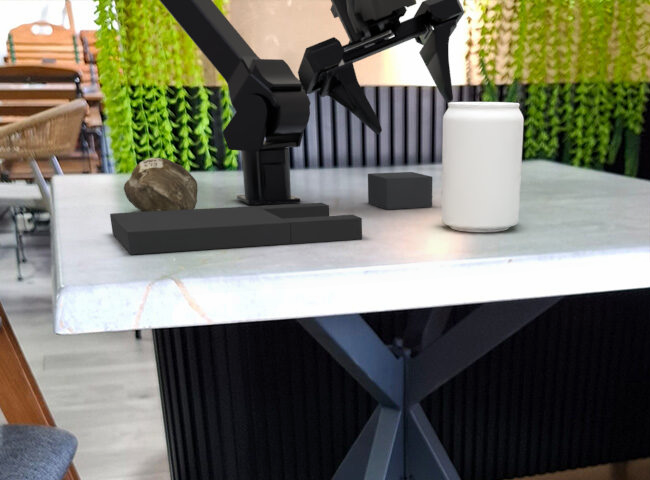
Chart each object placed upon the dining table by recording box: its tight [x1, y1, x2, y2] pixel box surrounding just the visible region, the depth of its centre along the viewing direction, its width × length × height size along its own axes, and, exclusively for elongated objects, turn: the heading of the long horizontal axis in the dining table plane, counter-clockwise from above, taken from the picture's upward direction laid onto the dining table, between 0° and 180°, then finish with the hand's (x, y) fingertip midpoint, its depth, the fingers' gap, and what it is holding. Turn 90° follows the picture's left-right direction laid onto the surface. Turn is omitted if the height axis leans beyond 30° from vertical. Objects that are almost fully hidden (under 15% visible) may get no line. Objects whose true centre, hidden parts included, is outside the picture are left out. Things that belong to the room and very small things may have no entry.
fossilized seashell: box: [123, 157, 199, 212], centre depth 100 cm, size 8×7×10 cm
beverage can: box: [440, 101, 525, 233], centre depth 92 cm, size 8×8×12 cm
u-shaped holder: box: [109, 202, 363, 256], centre depth 88 cm, size 12×22×2 cm, turn 114°
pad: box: [367, 171, 433, 211], centre depth 109 cm, size 6×6×4 cm
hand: (415, 117), depth 98 cm, fingers open, 9 cm apart
